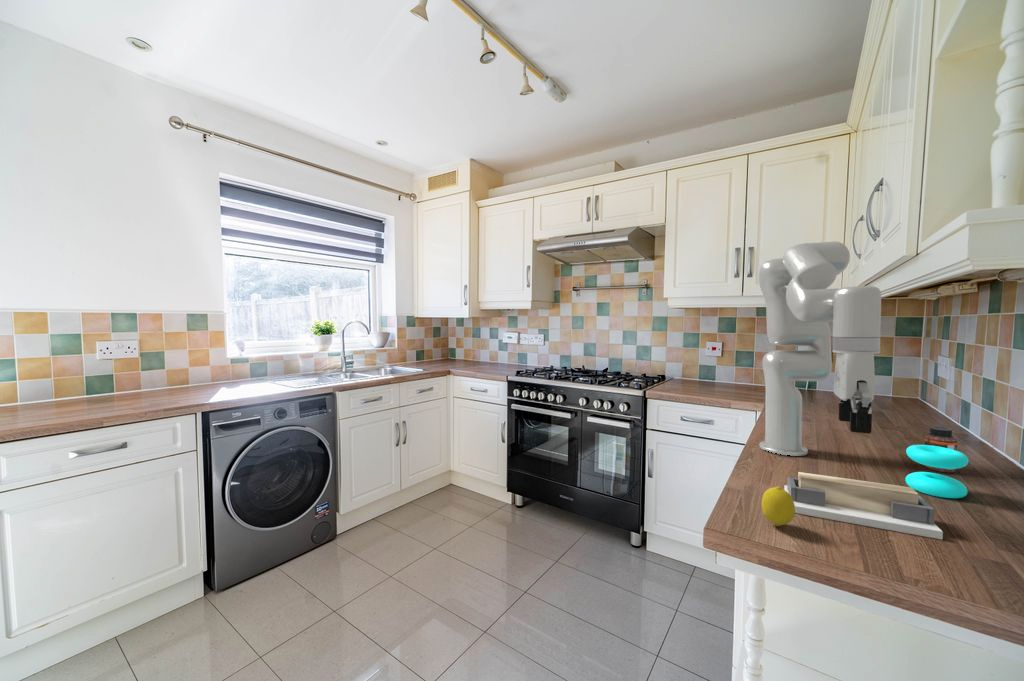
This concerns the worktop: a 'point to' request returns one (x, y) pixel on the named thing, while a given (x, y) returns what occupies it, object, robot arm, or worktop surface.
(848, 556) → the worktop surface
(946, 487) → the donuts
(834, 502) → the slat
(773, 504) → the lemon
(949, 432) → the supplement bottle
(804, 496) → the end caps
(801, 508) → the board
